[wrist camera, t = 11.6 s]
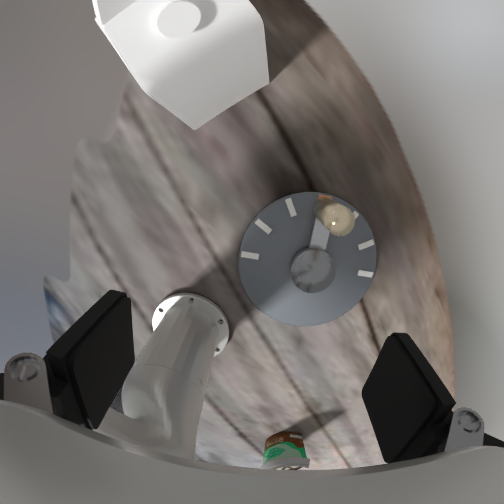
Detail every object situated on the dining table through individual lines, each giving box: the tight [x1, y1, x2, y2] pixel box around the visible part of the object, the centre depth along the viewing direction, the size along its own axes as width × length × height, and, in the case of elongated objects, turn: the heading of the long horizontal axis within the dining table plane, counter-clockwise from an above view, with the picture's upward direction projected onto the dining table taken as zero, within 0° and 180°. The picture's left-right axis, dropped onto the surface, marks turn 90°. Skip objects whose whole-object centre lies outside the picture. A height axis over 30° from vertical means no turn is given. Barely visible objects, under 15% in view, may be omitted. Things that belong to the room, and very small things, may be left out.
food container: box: [260, 432, 310, 470], centre depth 48 cm, size 12×6×10 cm, turn 141°
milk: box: [92, 0, 269, 130], centre depth 20 cm, size 12×12×26 cm
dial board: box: [238, 192, 377, 326], centre depth 39 cm, size 20×20×1 cm
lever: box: [290, 197, 355, 293], centre depth 34 cm, size 13×6×8 cm, turn 170°
